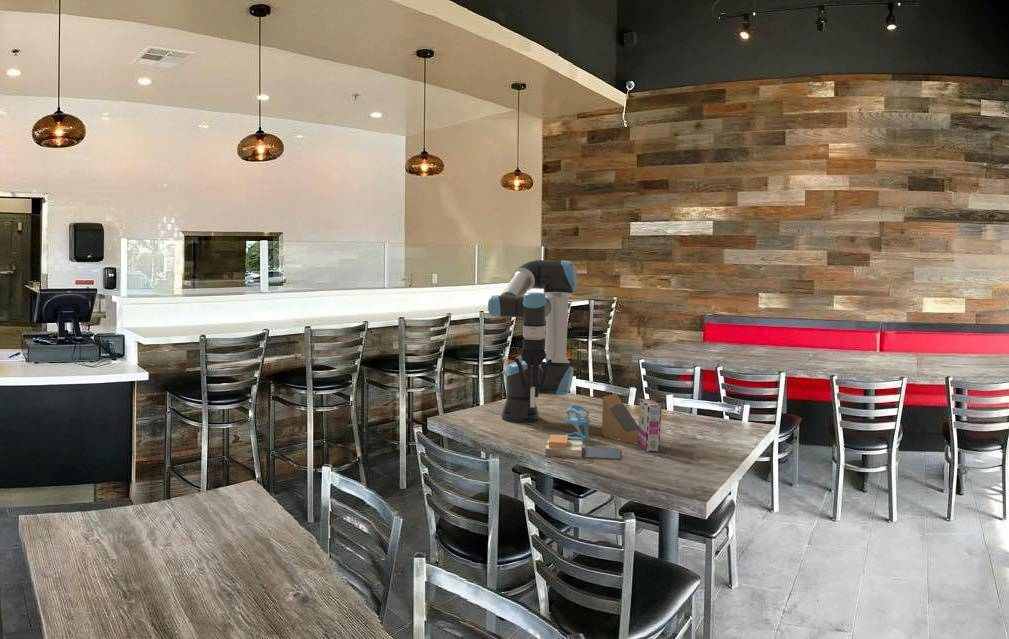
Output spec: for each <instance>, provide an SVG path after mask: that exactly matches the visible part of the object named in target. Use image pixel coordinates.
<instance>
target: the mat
mask: <svg viewBox="0 0 1009 639" xmlns="http://www.w3.org/2000/svg"><path fill="white" fill-rule="evenodd" d="M583 457H584V459H593V458H601V459H600V460H612V459H622V458H621V449H620V447H611V446H610V447H606V446H587V445H586V446H585V447H584V455H583Z"/></svg>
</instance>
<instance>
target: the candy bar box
mask: <svg viewBox="0 0 1009 639" xmlns="http://www.w3.org/2000/svg"><path fill="white" fill-rule="evenodd" d="M661 419H662V405H661V404H659V403H658V402H656V401H655V400H654V399H653V398H640V399H639V410H638V426H639V428H638V445H639V446H640V447H641V448H642V449H643V450H644V451H645V452H646V453H659V452H660V443H661V442H660V441H661V423H662V420H661Z"/></svg>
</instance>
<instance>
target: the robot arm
mask: <svg viewBox="0 0 1009 639" xmlns="http://www.w3.org/2000/svg"><path fill="white" fill-rule="evenodd" d="M577 278H578V277H577V271H576V266H575V264H574V262H573V261H571V260H563V259H560V260H559V259H557V260H555V259H554V260H553V259H552V260H551V259H550V260H549V259H547V260H546V259H545V260H544V259H543V260H542V259H534V260H531V261H528V262H526V263H523V264H521V265H519V266H518V267H517V268H516V269H515V270H514V271H513V273H512V274H511V278H510V279H511V280H510V281H509V283H508V284H507V285H506V287H505V288H504V289H503V290H502V292H501V294H500V295H490V296H489V299H488V303H487V311H488V314H489V316H491V317H498V318H521V319H522V318H523V319H522V320H523V321H522V322H523V324H522V337H523V339H522V351H521V354H520V355H519V356H517V357H515V358H514V362H511V363H510V364H507V367H506V375H505V376H506V382H505V383H506V392H505V393H506V398H505V402H504V406H503V408H502V412H501V419H502V420H504V421H507V422H510V423H531V422H535V421H538V420H539V419H540V412H539V410H538V409H539V408H538V405H537V402H536V398H538V397H539V395H544V396H545V395H548V396H567V395H568V394H569V392H570V390H571V387H572V383H573V378H574V377H573V376H574V367H573V366H570V364H571V363H570V360H568V358H567V348H568V347H567V342H568V338H567V337H568V320H569V298H570V297H572V296H573V294H574V293H573V291H576V290H577V287H578V286H577V285H578V280H577ZM532 289H537V290H538V289H540V290H543V292H535V291H534V292H528V291H530V290H532Z"/></svg>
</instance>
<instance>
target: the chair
mask: <svg viewBox="0 0 1009 639" xmlns="http://www.w3.org/2000/svg"><path fill="white" fill-rule="evenodd" d="M581 410H582V411H585V412H586V413H585V418H582V417H581V415H582V413H581V412H579V411H581ZM570 413H574V416H573V417H571V415H570ZM589 413H590V410H589V409H587V408H585V407H584V406H581V405H571V406H569V407H568V408H567V409H566V414H567V419H565V420H564V422H565V423H569V424H571V425H572V426H573V427H575V429H576V430H577V431H576V432H575V431H574V432H571V433H567V434H566V435H568V440H569V439H570V440H581V441H582V442H585V441H589V440H590V439H589V438H590V437H589V423H590V422H591V419H589V417H588V416H589ZM581 425H583V427H584V434H583V433H582V430H581V428H580V426H581ZM575 436H576V437H575Z"/></svg>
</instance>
